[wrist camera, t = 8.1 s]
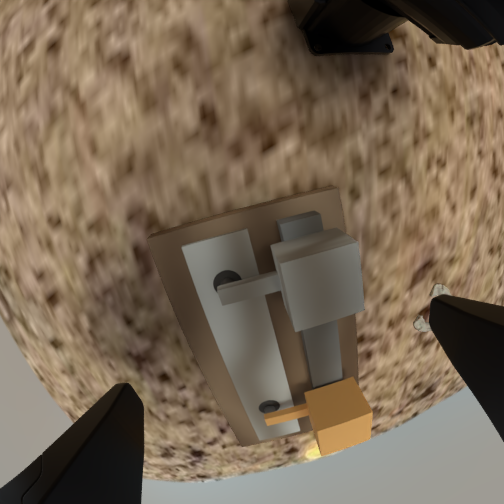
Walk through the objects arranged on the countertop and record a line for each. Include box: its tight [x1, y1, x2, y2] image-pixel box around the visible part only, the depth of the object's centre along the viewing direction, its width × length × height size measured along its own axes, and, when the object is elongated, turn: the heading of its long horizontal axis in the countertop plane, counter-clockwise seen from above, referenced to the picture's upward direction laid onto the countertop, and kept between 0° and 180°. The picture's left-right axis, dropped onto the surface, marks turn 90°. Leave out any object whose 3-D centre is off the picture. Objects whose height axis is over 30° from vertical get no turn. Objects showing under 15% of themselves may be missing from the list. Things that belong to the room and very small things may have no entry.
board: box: [147, 186, 365, 447], centre depth 19 cm, size 12×22×5 cm, turn 14°
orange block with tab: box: [264, 377, 373, 456], centre depth 19 cm, size 8×4×5 cm, turn 104°
